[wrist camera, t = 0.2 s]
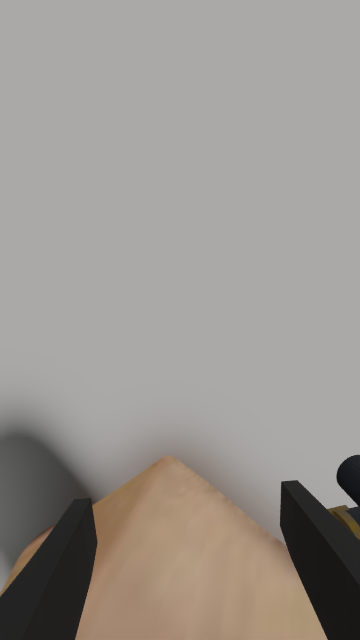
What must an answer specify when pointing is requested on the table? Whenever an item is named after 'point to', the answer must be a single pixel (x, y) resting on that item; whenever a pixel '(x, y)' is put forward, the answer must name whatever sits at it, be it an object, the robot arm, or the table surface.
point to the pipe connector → (356, 480)
